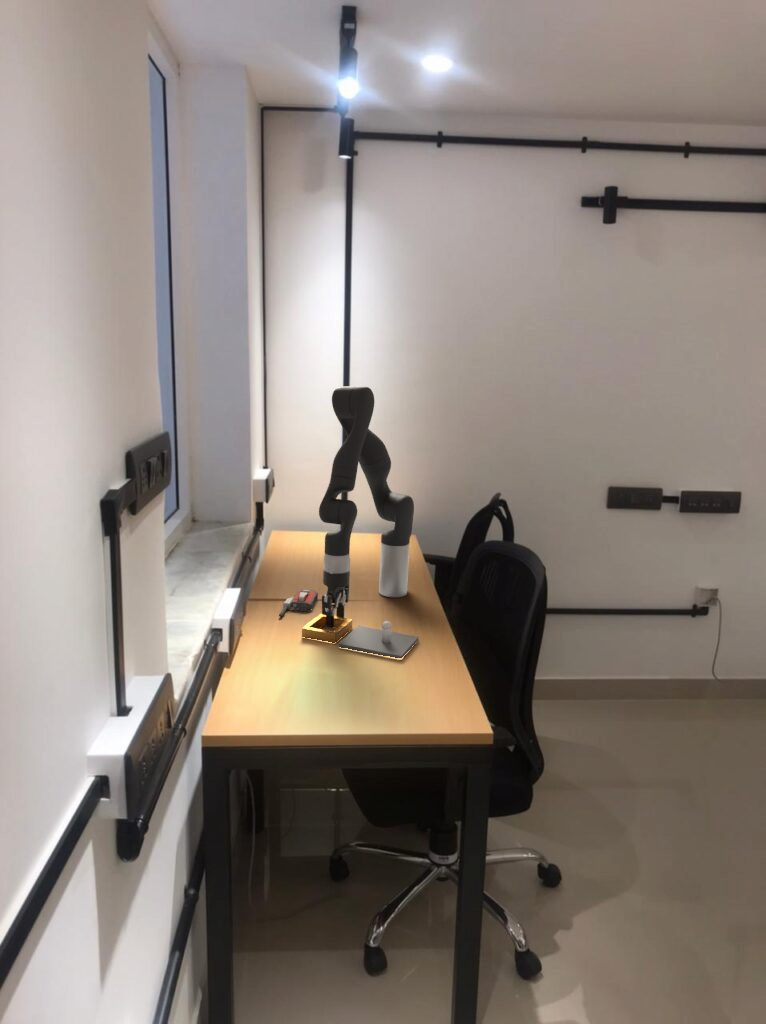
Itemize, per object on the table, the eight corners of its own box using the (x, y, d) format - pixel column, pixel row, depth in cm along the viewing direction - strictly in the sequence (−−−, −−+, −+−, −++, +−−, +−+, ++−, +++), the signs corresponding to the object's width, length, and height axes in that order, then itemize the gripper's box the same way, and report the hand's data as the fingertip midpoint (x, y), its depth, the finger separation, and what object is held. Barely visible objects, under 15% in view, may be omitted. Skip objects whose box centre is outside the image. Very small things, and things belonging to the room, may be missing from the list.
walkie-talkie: (292, 596, 245) (276, 619, 226) (292, 583, 244) (276, 605, 225) (319, 598, 244) (305, 622, 225) (319, 585, 243) (306, 608, 224)
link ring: (320, 623, 223) (320, 613, 223) (352, 629, 220) (352, 619, 219) (301, 638, 212) (302, 628, 212) (334, 644, 209) (335, 634, 208)
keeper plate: (358, 630, 219) (359, 606, 218) (418, 641, 213) (419, 617, 212) (338, 648, 207) (339, 623, 205) (401, 661, 200) (402, 635, 199)
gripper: (335, 559, 225) (333, 612, 229) (313, 573, 211) (312, 629, 215) (358, 563, 222) (356, 617, 226) (338, 577, 209) (336, 634, 213)
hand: (335, 622), depth 221 cm, fingers open, 6 cm apart
